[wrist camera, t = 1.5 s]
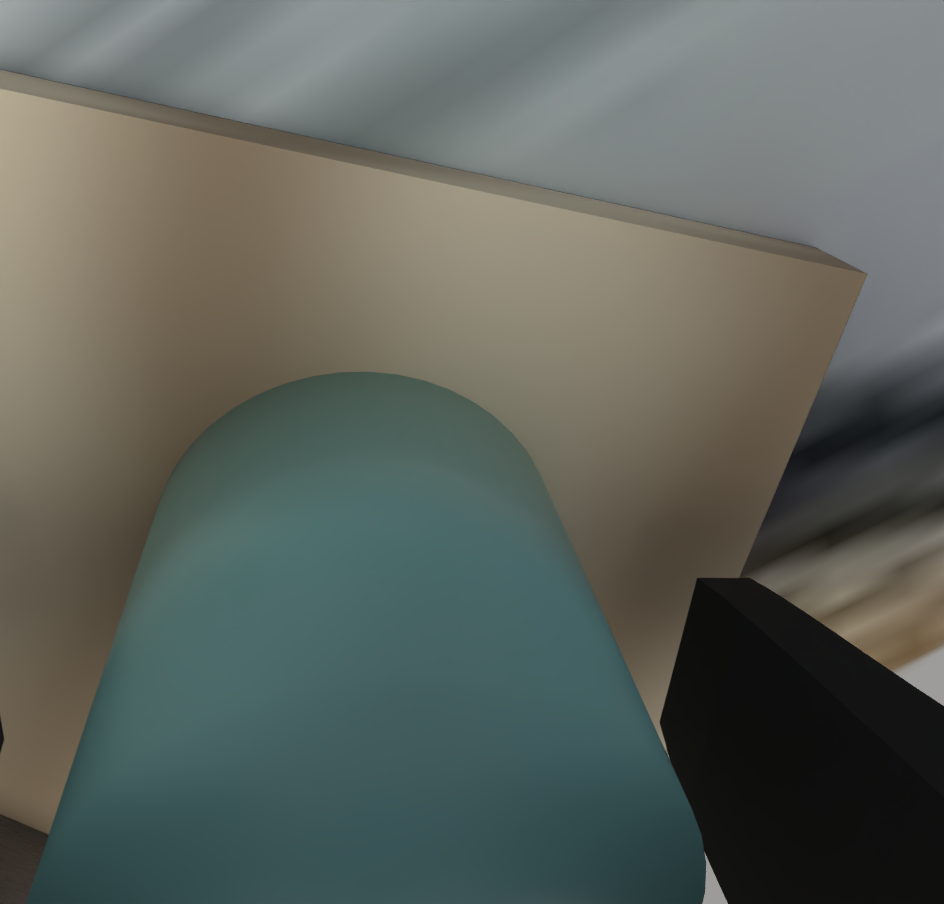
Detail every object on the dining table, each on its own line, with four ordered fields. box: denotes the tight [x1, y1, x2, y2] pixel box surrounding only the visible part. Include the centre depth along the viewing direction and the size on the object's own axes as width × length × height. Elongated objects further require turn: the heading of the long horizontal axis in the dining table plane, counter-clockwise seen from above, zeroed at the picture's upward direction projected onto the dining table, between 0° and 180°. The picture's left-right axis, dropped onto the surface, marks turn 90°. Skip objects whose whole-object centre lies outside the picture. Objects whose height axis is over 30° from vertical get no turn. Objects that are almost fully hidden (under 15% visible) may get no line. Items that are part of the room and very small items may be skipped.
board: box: [0, 70, 867, 834], centre depth 13 cm, size 16×20×1 cm
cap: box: [26, 372, 706, 904], centre depth 9 cm, size 5×5×5 cm
